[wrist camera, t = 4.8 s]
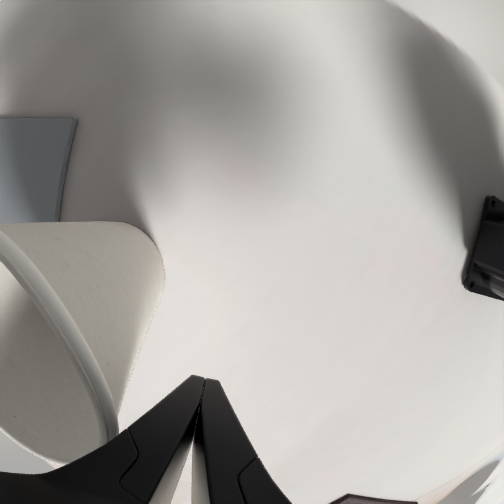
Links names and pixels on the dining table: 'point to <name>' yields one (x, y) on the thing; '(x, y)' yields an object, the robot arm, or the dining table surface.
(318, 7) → the dining table surface
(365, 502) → the chocolate bar
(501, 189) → the dining table surface
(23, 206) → the mat
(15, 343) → the dixie cup
